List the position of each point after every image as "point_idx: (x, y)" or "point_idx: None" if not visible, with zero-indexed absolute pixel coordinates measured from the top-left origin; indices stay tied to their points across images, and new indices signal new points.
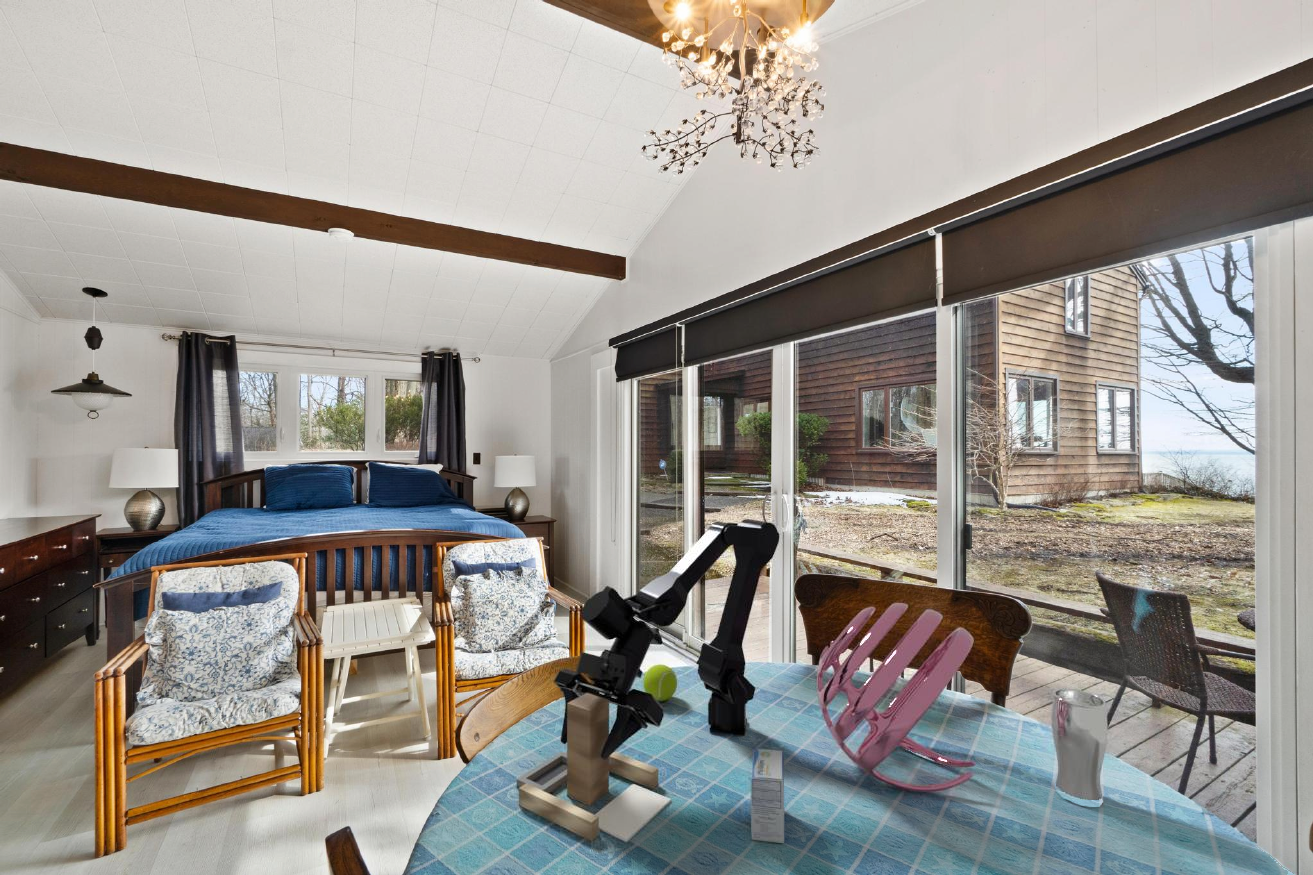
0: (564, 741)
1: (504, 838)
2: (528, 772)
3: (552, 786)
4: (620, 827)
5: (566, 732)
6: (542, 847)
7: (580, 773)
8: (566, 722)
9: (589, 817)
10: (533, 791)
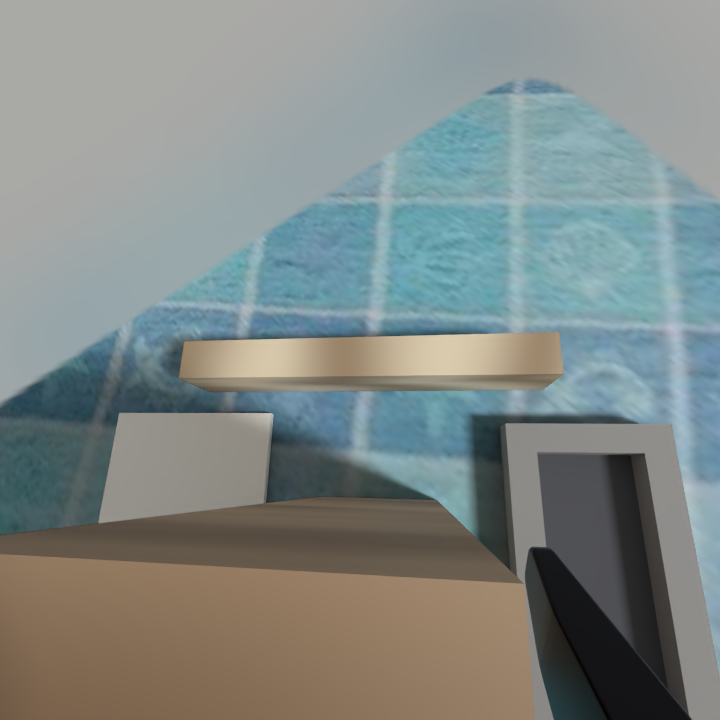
0: (528, 569)
1: (437, 228)
2: (680, 496)
3: (507, 486)
4: (161, 451)
5: (549, 614)
6: (318, 265)
7: (349, 502)
8: (617, 686)
9: (205, 358)
10: (488, 350)
